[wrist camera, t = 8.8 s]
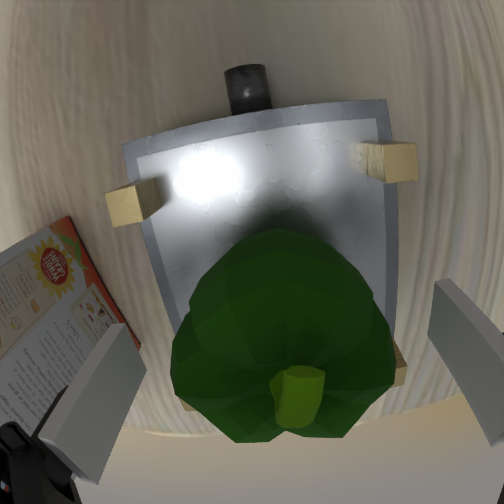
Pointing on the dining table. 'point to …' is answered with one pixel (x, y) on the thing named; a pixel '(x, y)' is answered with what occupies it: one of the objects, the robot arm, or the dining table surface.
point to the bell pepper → (282, 341)
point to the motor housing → (268, 189)
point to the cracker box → (47, 320)
